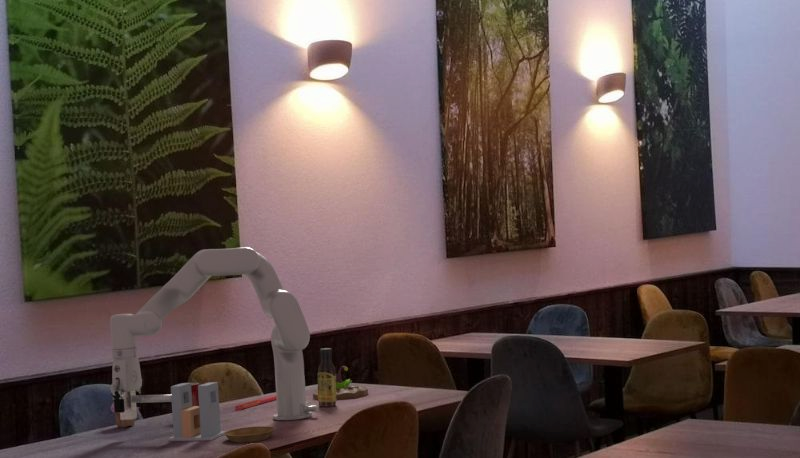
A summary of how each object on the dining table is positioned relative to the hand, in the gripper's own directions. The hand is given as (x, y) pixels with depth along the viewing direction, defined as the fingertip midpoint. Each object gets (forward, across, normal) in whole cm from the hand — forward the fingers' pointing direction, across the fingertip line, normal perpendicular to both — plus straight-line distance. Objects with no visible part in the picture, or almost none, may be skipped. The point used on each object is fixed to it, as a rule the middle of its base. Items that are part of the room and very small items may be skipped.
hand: (128, 409), depth 333 cm
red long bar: (+9, +62, -15) cm, 65 cm away
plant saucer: (+9, -3, -42) cm, 43 cm away
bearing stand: (+9, 0, -23) cm, 25 cm away
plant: (+9, +80, -41) cm, 90 cm away
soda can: (+9, +33, -4) cm, 34 cm away
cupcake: (+9, +21, +14) cm, 27 cm away
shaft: (+3, 0, -9) cm, 9 cm away
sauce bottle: (+9, +56, -44) cm, 72 cm away
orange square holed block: (+8, 0, -22) cm, 23 cm away
